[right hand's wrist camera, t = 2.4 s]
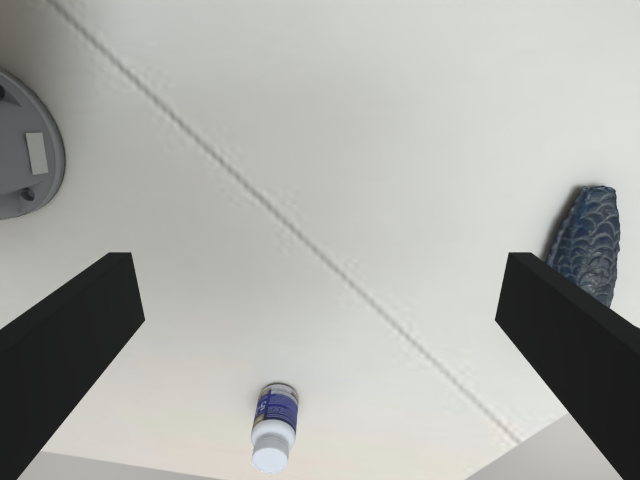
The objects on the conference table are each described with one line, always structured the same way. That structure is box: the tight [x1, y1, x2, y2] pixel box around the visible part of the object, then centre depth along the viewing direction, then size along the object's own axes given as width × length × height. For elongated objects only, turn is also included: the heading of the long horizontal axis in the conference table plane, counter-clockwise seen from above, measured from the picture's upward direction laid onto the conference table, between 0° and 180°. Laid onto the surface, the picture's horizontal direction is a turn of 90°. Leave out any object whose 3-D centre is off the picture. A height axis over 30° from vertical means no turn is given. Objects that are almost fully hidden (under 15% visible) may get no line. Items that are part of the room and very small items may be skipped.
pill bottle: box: [251, 384, 298, 473], centre depth 43 cm, size 5×5×9 cm
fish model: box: [546, 186, 620, 308], centre depth 39 cm, size 7×21×5 cm, turn 2°
